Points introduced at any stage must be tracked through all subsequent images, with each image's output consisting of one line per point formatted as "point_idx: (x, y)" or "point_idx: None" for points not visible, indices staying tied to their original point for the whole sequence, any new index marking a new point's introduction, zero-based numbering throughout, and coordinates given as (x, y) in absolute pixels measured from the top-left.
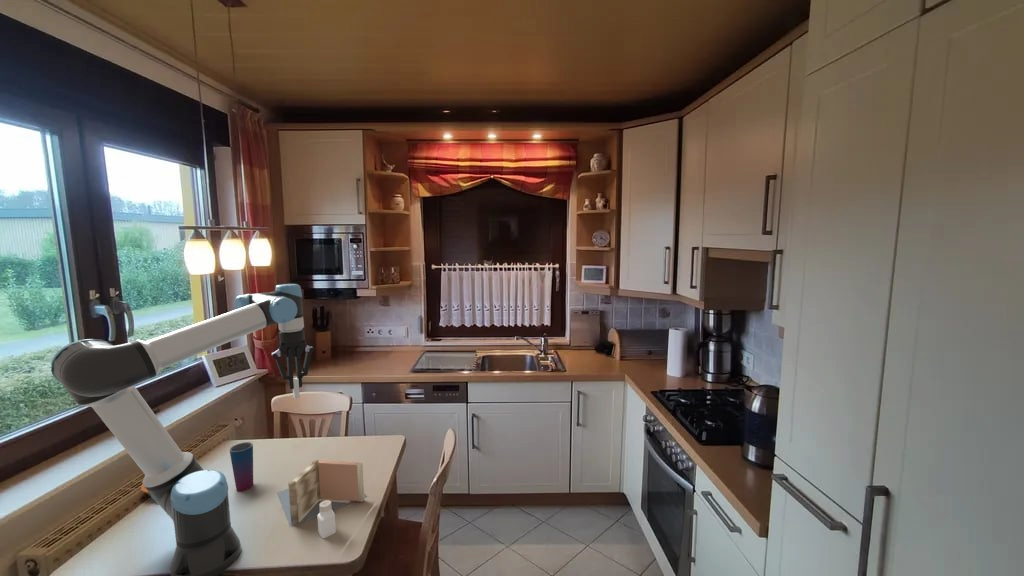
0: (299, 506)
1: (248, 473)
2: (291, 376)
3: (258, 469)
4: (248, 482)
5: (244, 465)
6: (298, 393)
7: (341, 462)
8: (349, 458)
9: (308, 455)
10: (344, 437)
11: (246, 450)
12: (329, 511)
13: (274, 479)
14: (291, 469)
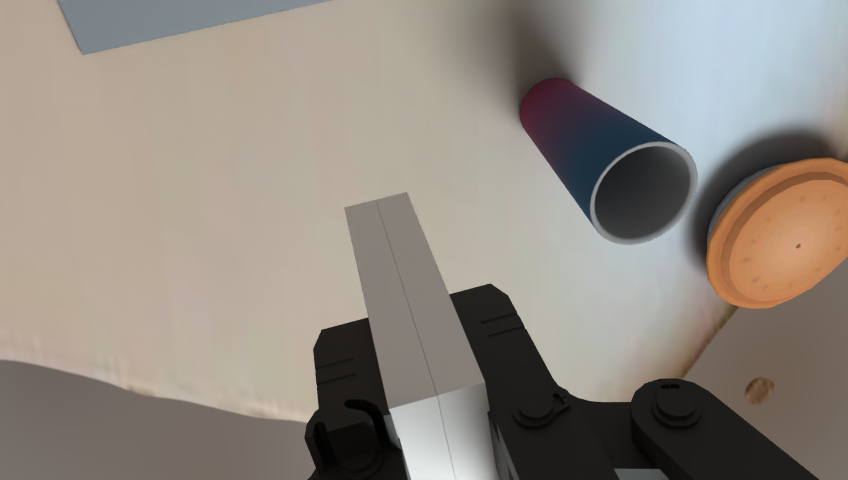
0: None
1: (563, 107)
2: (553, 450)
3: (498, 235)
4: (549, 92)
5: (598, 114)
6: (365, 238)
7: None
8: (80, 170)
9: (298, 275)
10: (135, 382)
11: (622, 147)
12: None
13: (438, 121)
14: (368, 179)
